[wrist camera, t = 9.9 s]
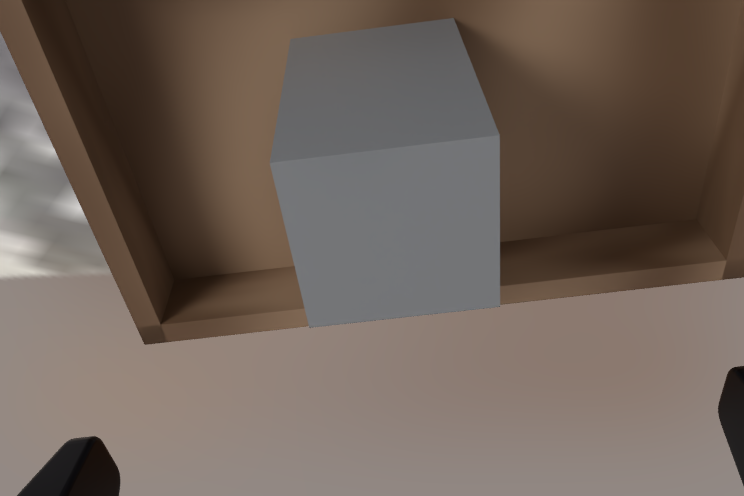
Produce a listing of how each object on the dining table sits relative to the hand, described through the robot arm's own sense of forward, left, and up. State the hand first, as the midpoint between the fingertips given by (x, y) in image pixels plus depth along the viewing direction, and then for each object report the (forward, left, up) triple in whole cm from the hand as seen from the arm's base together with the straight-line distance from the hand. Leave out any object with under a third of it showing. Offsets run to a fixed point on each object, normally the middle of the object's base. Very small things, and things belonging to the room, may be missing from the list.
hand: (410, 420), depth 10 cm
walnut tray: (-1, 0, -11) cm, 11 cm away
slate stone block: (0, 0, -10) cm, 10 cm away
